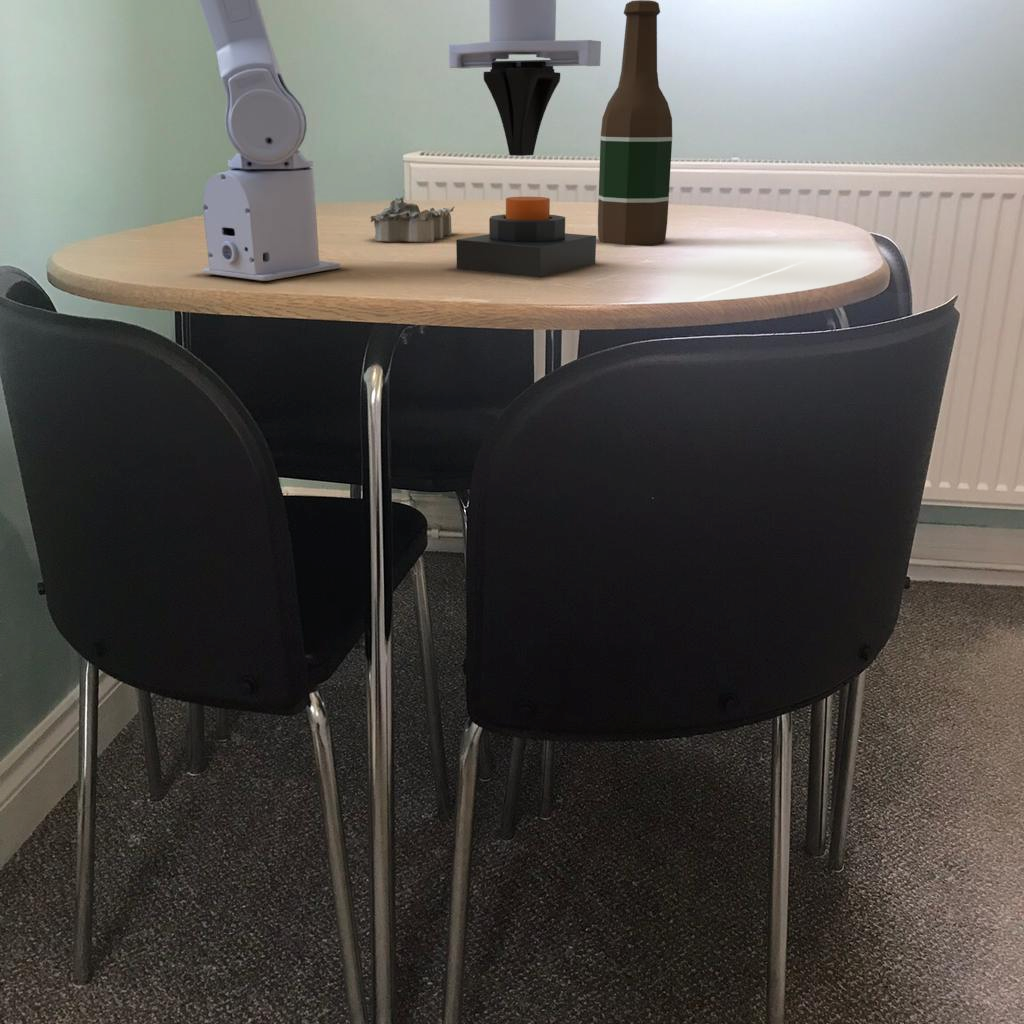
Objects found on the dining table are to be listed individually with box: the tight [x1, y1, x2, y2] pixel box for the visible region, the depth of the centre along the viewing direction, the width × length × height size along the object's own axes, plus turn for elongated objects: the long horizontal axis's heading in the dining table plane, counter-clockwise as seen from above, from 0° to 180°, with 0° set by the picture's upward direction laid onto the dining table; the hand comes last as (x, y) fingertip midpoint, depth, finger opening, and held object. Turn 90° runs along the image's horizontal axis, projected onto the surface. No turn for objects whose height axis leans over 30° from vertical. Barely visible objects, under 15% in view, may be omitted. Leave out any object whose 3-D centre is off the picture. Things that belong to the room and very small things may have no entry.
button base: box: [455, 213, 597, 279], centre depth 94 cm, size 10×9×4 cm
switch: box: [505, 196, 551, 220], centre depth 93 cm, size 4×4×2 cm
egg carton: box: [369, 196, 455, 243], centre depth 115 cm, size 11×8×4 cm
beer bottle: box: [597, 0, 673, 246], centre depth 108 cm, size 8×8×24 cm
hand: (521, 155), depth 91 cm, fingers closed
